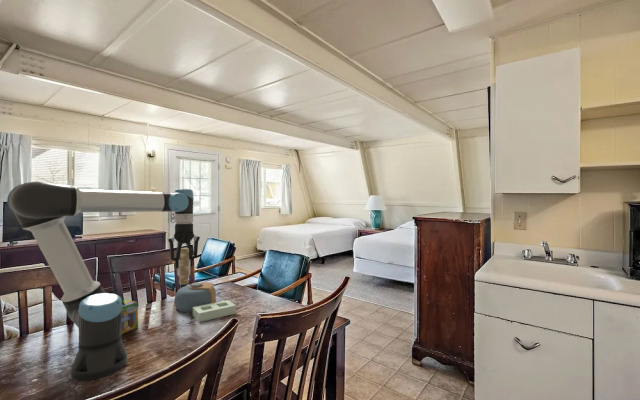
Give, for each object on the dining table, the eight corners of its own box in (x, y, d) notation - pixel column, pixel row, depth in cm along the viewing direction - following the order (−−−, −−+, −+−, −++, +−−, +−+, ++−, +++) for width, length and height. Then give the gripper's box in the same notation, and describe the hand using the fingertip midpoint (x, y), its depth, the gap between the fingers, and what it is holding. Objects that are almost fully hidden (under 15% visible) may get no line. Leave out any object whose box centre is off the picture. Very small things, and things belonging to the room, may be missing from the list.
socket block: (198, 322, 138) (198, 313, 138) (192, 315, 146) (192, 307, 146) (235, 313, 149) (236, 305, 149) (228, 307, 157) (228, 299, 157)
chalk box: (138, 328, 131) (139, 294, 131) (116, 336, 122) (116, 300, 122) (126, 324, 135) (126, 291, 135) (103, 332, 127) (104, 297, 127)
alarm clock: (220, 308, 156) (220, 285, 156) (178, 316, 144) (179, 291, 145) (211, 298, 172) (211, 277, 172) (172, 304, 160) (173, 282, 160)
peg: (180, 285, 132) (180, 249, 132) (178, 283, 135) (179, 248, 135) (188, 283, 134) (188, 248, 134) (186, 282, 137) (187, 247, 137)
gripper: (165, 224, 127) (165, 279, 127) (205, 222, 137) (205, 273, 137) (162, 223, 132) (162, 275, 133) (200, 221, 143) (200, 270, 143)
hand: (183, 274), depth 135 cm, fingers closed on peg, 3 cm apart
